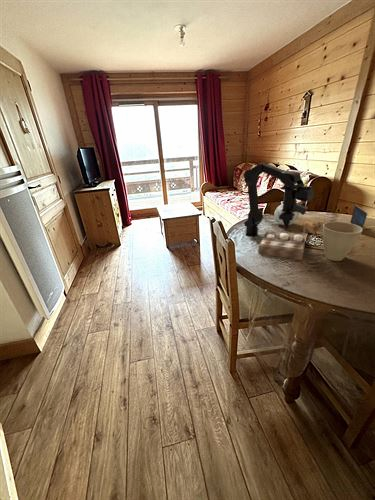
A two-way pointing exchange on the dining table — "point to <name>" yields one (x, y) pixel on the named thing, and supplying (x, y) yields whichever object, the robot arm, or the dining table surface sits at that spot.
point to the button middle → (284, 236)
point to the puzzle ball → (279, 211)
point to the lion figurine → (313, 227)
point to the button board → (282, 246)
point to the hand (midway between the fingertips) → (286, 227)
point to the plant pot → (339, 239)
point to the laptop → (358, 217)
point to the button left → (270, 236)
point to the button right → (298, 238)
